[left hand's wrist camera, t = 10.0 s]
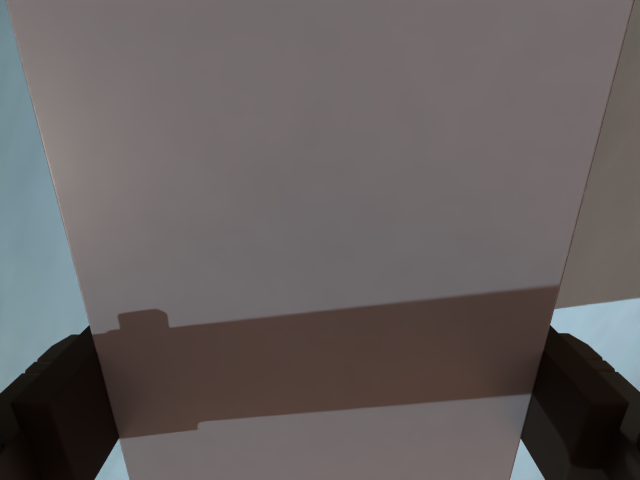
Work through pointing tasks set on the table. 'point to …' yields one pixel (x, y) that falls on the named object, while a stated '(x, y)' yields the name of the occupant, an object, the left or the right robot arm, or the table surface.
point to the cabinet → (319, 220)
